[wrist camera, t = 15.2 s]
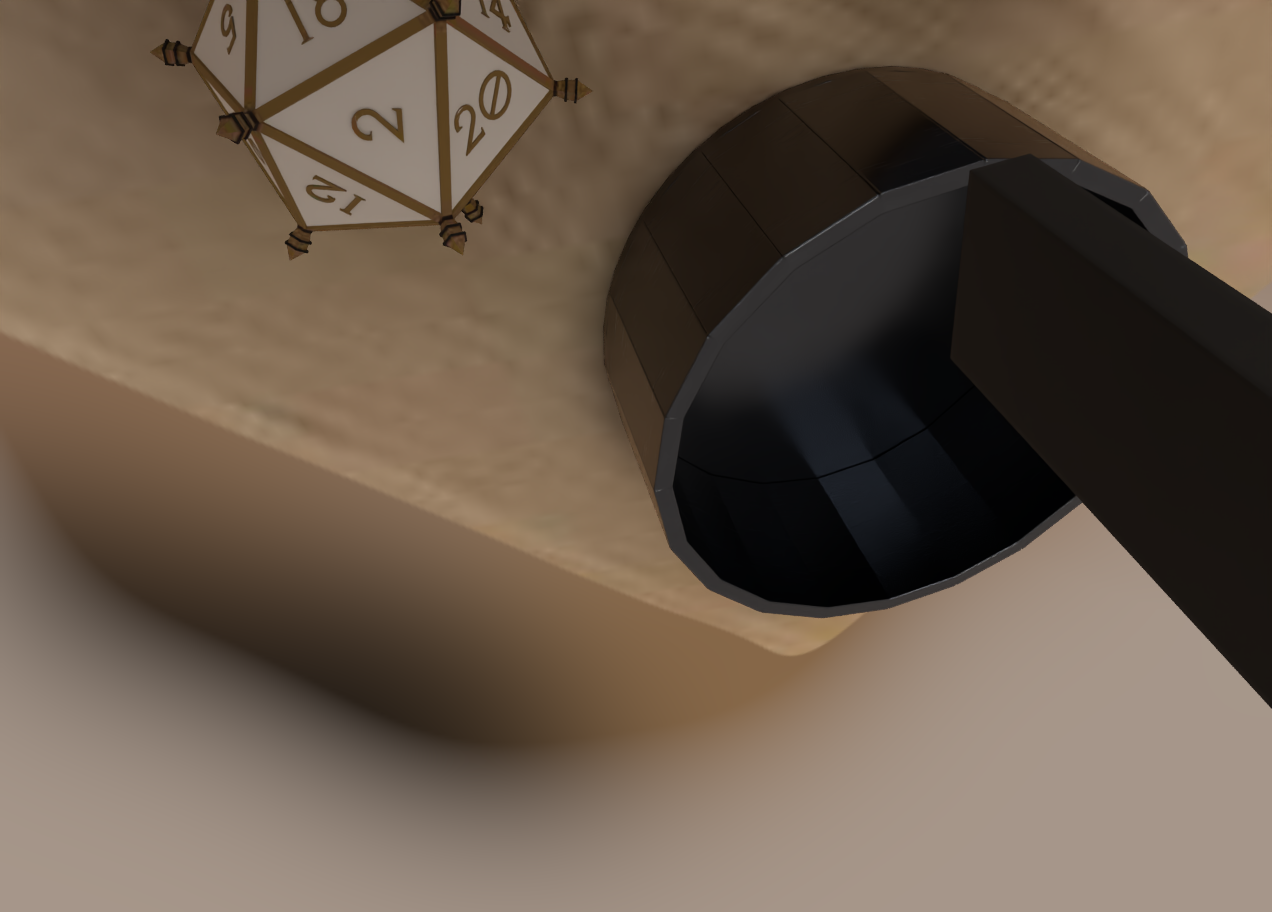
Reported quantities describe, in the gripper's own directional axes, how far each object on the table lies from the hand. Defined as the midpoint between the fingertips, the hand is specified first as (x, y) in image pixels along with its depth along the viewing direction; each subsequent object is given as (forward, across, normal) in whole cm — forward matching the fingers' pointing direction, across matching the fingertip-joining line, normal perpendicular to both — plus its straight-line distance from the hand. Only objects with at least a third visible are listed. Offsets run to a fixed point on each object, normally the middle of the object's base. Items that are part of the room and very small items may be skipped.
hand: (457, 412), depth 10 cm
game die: (+18, -1, 0) cm, 18 cm away
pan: (+18, +12, -13) cm, 25 cm away
